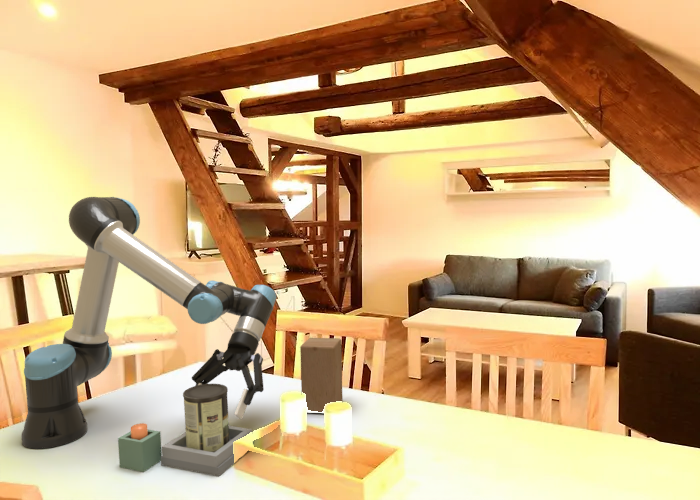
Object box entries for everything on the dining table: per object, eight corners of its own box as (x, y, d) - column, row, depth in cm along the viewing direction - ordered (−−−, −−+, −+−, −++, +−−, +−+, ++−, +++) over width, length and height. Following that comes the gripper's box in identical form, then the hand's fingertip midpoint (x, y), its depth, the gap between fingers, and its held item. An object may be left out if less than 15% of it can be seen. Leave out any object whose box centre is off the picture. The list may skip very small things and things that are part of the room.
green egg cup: (119, 467, 121) (117, 438, 120) (138, 455, 126) (137, 427, 126) (143, 472, 118) (141, 442, 118) (161, 460, 124) (160, 431, 123)
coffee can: (209, 434, 133) (207, 380, 132) (238, 443, 127) (236, 387, 126) (176, 450, 124) (173, 393, 123) (206, 461, 119) (203, 401, 117)
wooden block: (335, 415, 148) (333, 347, 147) (301, 413, 150) (299, 345, 149) (342, 402, 158) (341, 338, 156) (311, 401, 160) (309, 337, 158)
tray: (161, 464, 122) (160, 446, 121) (201, 438, 135) (200, 421, 135) (218, 476, 116) (217, 456, 115) (254, 446, 130) (253, 429, 129)
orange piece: (128, 449, 121) (127, 428, 121) (139, 442, 124) (138, 422, 124) (140, 451, 120) (139, 430, 119) (151, 444, 123) (150, 424, 123)
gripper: (292, 348, 137) (264, 426, 125) (214, 341, 147) (181, 413, 134) (281, 333, 132) (251, 413, 119) (201, 327, 141) (165, 400, 129)
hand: (214, 413), depth 127 cm, fingers open, 13 cm apart
